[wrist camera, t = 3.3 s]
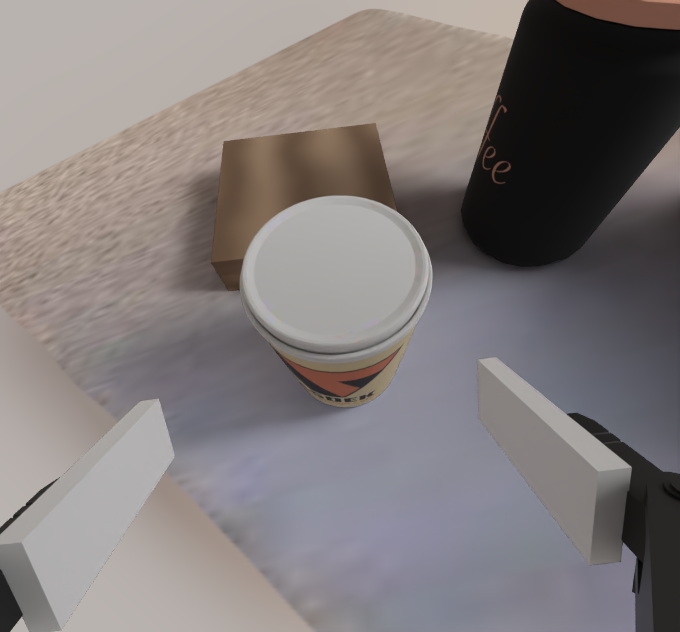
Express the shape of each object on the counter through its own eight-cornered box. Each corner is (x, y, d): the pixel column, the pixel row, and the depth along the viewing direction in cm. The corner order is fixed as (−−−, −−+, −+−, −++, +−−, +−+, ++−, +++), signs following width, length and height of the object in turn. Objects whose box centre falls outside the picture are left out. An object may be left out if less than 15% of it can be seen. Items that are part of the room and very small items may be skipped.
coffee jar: (478, 173, 36) (567, -91, 20) (591, 205, 33) (800, -77, 17) (440, 247, 31) (515, -16, 16) (566, 291, 28) (814, 20, 13)
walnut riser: (374, 158, 38) (375, 123, 34) (399, 270, 30) (404, 239, 27) (236, 175, 38) (223, 141, 34) (228, 290, 31) (211, 262, 27)
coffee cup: (268, 402, 26) (200, 327, 15) (306, 296, 30) (274, 180, 19) (395, 434, 24) (419, 375, 13) (416, 317, 28) (446, 203, 18)
